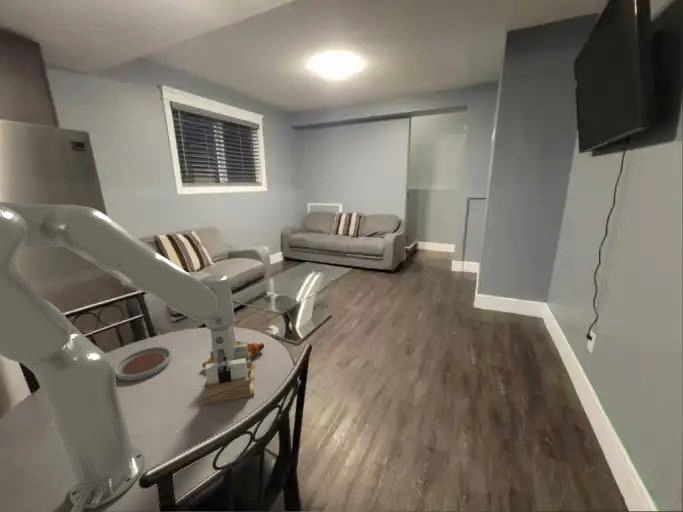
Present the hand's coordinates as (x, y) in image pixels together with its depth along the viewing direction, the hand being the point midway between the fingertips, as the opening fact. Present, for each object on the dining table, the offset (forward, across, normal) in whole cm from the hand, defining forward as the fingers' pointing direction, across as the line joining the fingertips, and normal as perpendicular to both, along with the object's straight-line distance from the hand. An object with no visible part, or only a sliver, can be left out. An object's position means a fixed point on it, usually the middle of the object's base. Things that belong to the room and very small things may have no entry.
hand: (227, 371), depth 84 cm
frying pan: (+8, +20, +35) cm, 41 cm away
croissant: (+8, +17, 0) cm, 19 cm away
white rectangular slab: (+7, 0, 0) cm, 7 cm away
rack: (+8, +4, 0) cm, 9 cm away
